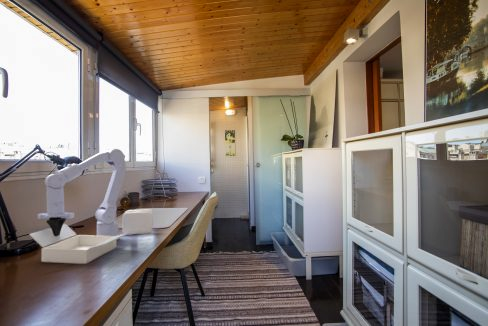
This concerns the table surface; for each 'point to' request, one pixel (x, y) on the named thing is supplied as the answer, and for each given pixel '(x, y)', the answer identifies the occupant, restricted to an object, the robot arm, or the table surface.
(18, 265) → the table surface
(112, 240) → the flap
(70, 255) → the carton
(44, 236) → the flap
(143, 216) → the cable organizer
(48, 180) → the robot arm
